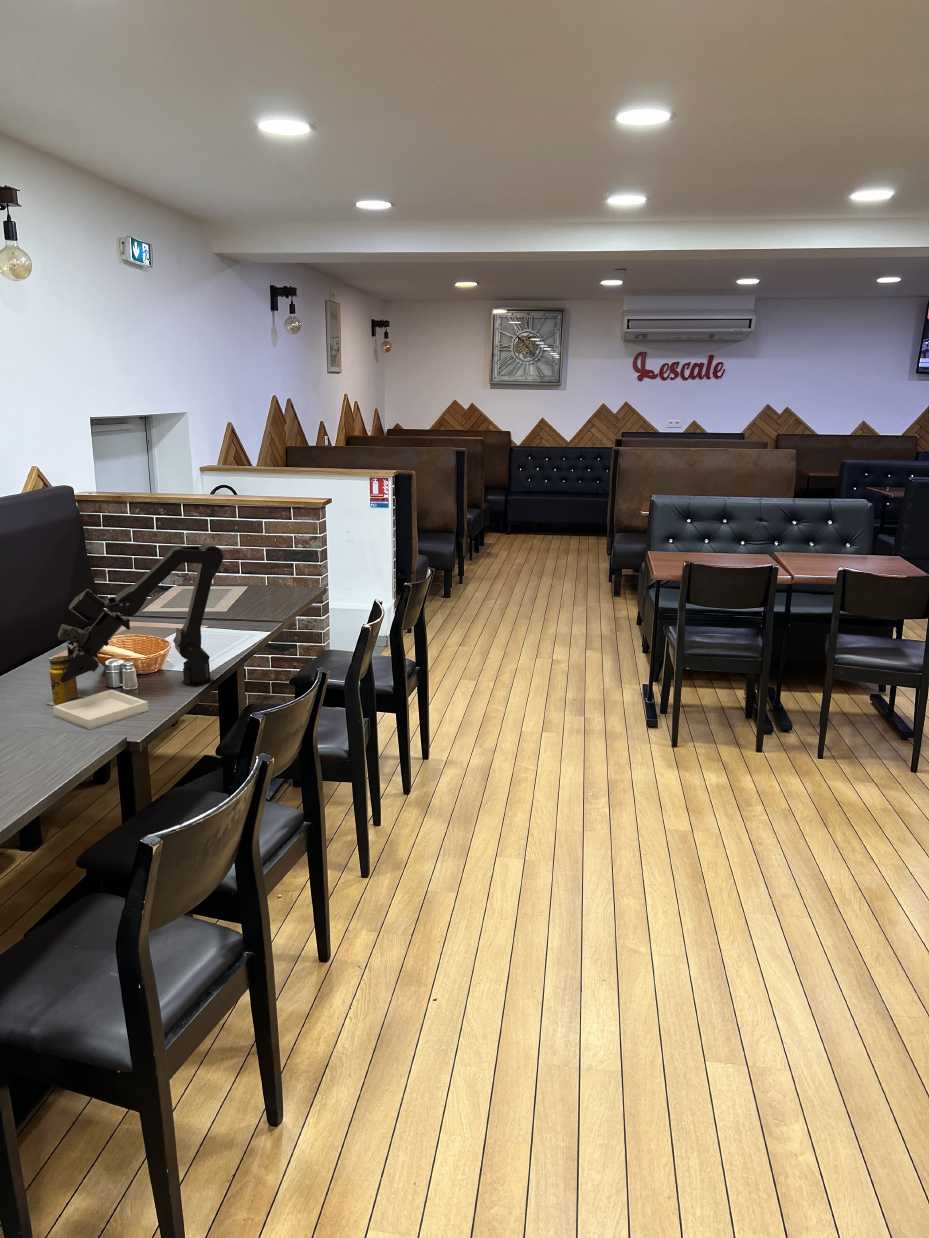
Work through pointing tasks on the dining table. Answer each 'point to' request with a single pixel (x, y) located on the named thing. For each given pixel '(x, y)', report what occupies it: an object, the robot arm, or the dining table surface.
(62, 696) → the condiment
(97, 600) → the robot arm
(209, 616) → the dining table surface
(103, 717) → the tray
